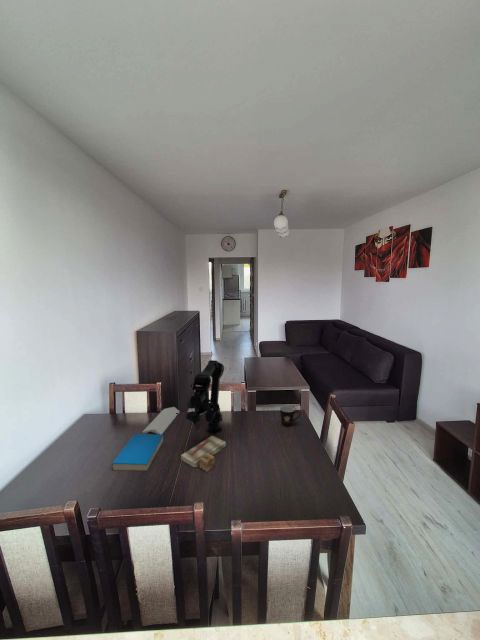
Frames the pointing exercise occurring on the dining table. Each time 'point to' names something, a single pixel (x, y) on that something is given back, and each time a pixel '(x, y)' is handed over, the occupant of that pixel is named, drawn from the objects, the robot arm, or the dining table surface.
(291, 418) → the coffee mug
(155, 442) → the book
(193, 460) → the plank
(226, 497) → the dining table surface
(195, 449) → the carpenter pencil
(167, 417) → the crown molding
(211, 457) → the block
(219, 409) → the robot arm
